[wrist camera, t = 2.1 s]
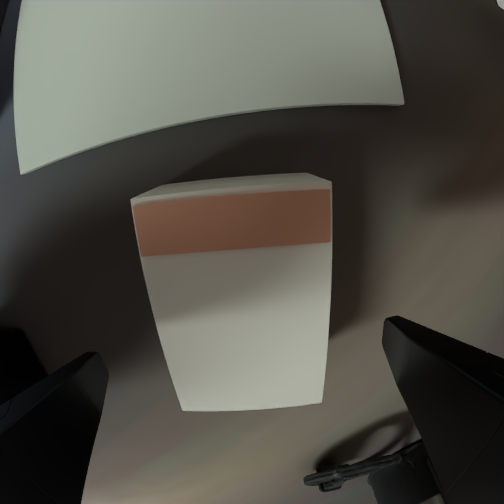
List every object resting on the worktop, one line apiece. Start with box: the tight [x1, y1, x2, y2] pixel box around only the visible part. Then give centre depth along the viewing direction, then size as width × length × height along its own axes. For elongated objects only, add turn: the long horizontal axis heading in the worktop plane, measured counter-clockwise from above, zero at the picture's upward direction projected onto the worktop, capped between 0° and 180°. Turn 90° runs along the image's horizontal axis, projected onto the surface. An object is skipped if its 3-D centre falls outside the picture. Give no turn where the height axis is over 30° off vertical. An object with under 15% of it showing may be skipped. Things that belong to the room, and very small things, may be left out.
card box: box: [130, 173, 332, 411], centre depth 12 cm, size 9×6×4 cm, turn 4°
